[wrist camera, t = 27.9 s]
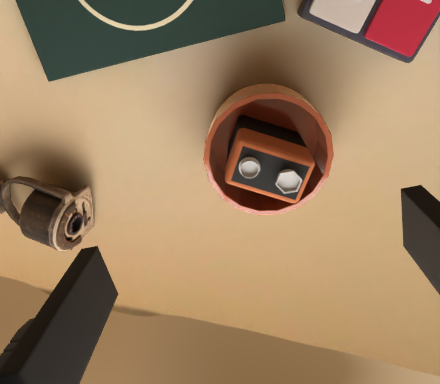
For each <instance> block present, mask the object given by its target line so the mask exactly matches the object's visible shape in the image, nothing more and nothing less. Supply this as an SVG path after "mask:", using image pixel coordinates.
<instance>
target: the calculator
mask: <svg viewBox="0 0 440 384" xmlns="http://www.w3.org/2000/svg"><path fill="white" fill-rule="evenodd" d="M298 15H299V16H300V17H302V18H304V19H306V20H308V21H310V22H313V23H315V24H317V25H320V26H322V27H324V28H326V29H329V30H331V31H333V32H336V33H338V34H340V35H342V36H345V37H347V38H349V39H352V40H354V41H356V42H358V43H361V44H363V45H365V46H367V47H370V48H372V49H374V50H377V51H379V52H381V53H383V54H386V55H388V56H390V57H393V58H395V59H397V60H400V61H403V62H405V63H410V62H412V61H413V59H414V58H415V56H416V55H417V53H418V51H419V50H420V48H421V46H422V45H423V43H424V41H425V40H426V38H427V36H428V35H429V33H430V31H431V30H432V28H433V26H434V25H435V23H436V21H437V20H438V18H439V16H440V0H303V1H302V3H301V5H300V8H299V10H298Z"/></svg>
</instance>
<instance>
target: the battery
mask: <svg viewBox="0 0 440 384" xmlns="http://www.w3.org/2000/svg"><path fill="white" fill-rule="evenodd" d="M314 165H315V161H314V159H313V157H312V156H311V154H310V152H309V150H308V148H307V146H306V144H305V143H304V141H303V139H302V137H301V135H300V134H299V133H298V132H296V131H293V130H290V129H287V128H283V127H280V126H277V125H274V124H271V123H268V122H265V121H261V120H258V119H255V118H252V117H249V116H245V115H240V116H239V117H238V120H237V122H236V126H235V129H234V132H233V135H232V138H231V141H230V144H229V147H228V152H227V161H226V171H225V181H226V182H227V183H228V184H231V185H234V186H237V187H240V188H244V189H247V190H250V191H254V192H257V193H260V194H263V195H267V196H270V197H273V198H277V199H280V200H283V201H287V202H290V203H297V202H298V201H299V200H300V197H301V195H302V193H303V191H304V188H305V186H306V184H307V181H308V179H309V177H310V175H311V172H312V170H313V168H314Z"/></svg>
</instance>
